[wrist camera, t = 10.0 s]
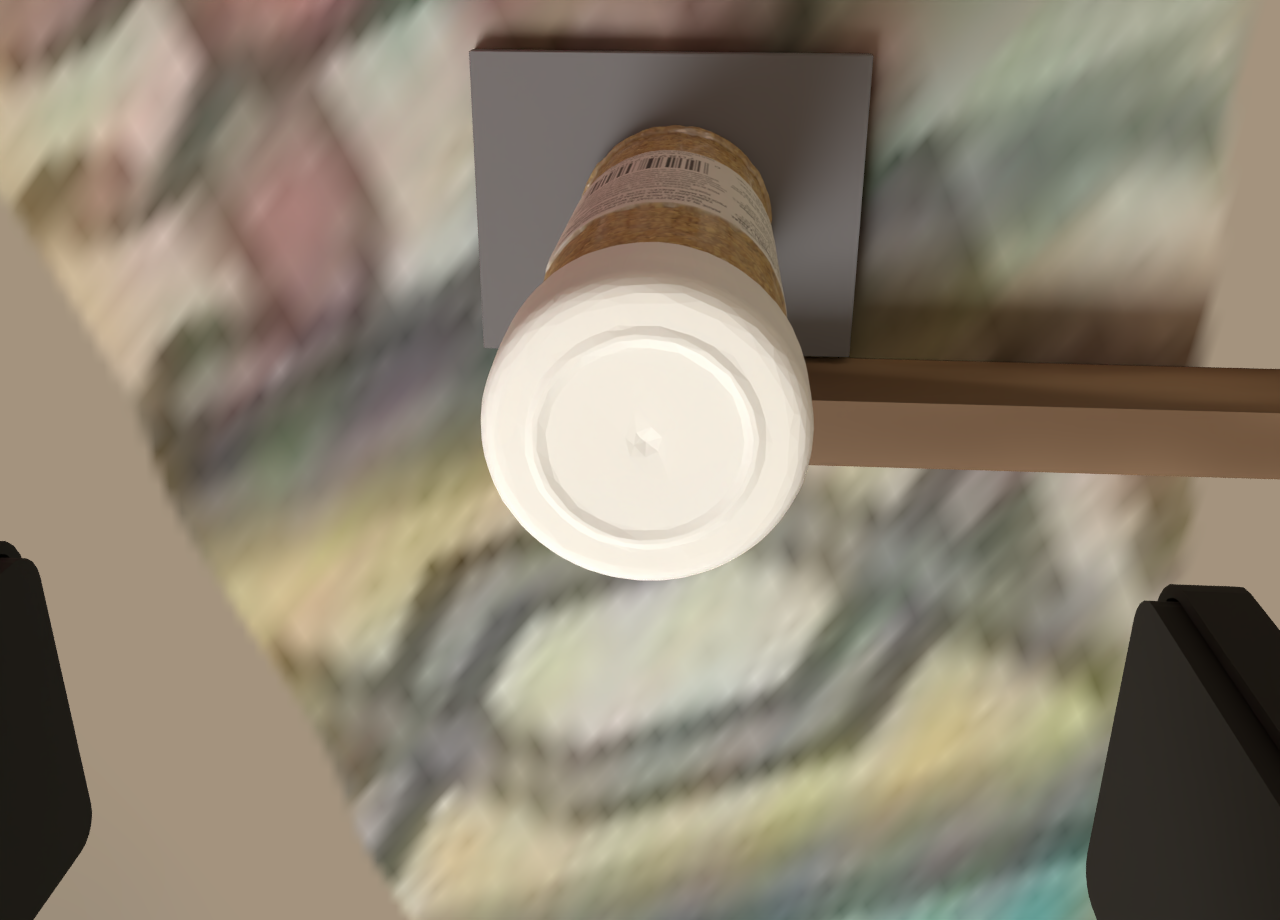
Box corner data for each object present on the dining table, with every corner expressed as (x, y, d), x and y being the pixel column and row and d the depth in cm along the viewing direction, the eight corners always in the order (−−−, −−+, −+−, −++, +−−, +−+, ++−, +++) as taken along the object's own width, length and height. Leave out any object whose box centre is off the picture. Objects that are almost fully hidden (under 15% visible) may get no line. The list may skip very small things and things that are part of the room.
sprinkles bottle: (574, 302, 29) (469, 575, 17) (587, 109, 27) (477, 259, 15) (763, 320, 29) (792, 609, 17) (787, 128, 27) (841, 294, 15)
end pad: (847, 350, 30) (849, 357, 29) (487, 341, 30) (484, 347, 30) (870, 53, 27) (873, 55, 26) (473, 48, 27) (469, 50, 27)
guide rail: (1266, 429, 30) (1321, 480, 27) (587, 410, 31) (574, 457, 28) (1281, 369, 29) (1338, 415, 27) (586, 351, 30) (572, 393, 27)
